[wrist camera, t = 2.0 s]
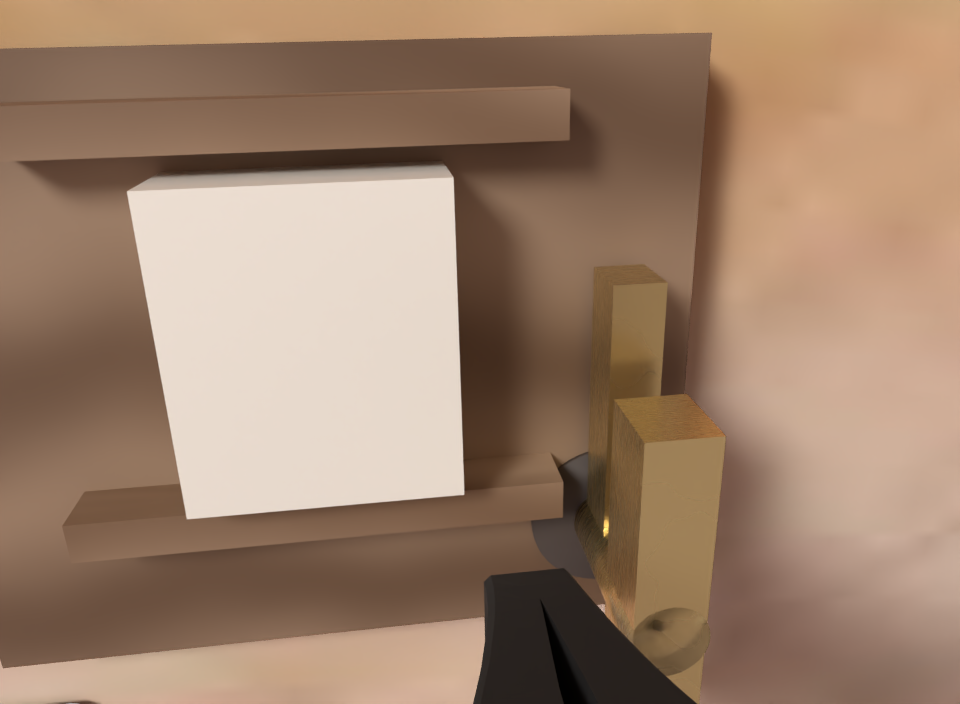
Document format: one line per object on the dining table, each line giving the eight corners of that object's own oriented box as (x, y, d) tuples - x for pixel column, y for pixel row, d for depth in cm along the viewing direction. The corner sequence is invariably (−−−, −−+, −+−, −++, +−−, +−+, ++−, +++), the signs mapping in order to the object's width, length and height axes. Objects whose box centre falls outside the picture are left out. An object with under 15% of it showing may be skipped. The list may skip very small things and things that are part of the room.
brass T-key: (631, 658, 23) (693, 801, 18) (570, 665, 23) (618, 812, 18) (654, 262, 18) (742, 326, 14) (580, 266, 18) (645, 333, 14)
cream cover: (453, 443, 20) (464, 494, 18) (209, 462, 19) (186, 519, 17) (442, 160, 17) (453, 177, 15) (160, 171, 17) (126, 191, 14)
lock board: (645, 555, 24) (687, 632, 21) (33, 616, 22) (-24, 713, 19) (678, 34, 19) (741, 31, 16) (-125, 52, 17) (-243, 53, 14)
